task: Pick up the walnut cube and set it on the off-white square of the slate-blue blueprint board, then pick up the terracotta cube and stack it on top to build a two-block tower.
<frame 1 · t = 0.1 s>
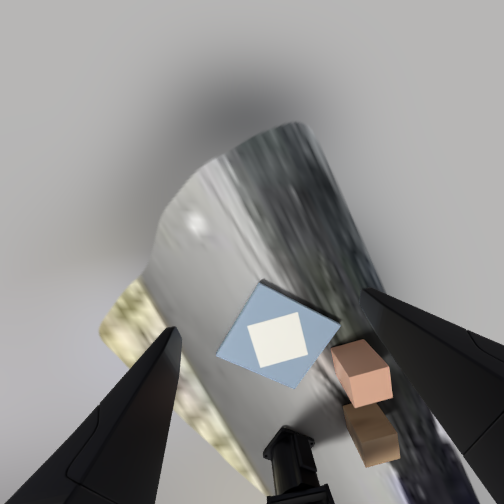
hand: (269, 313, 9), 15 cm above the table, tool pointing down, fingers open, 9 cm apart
walnut block: (359, 413, 32), on the table
terracotta block: (349, 357, 29), on the table
blueprint board: (277, 337, 27), on the table
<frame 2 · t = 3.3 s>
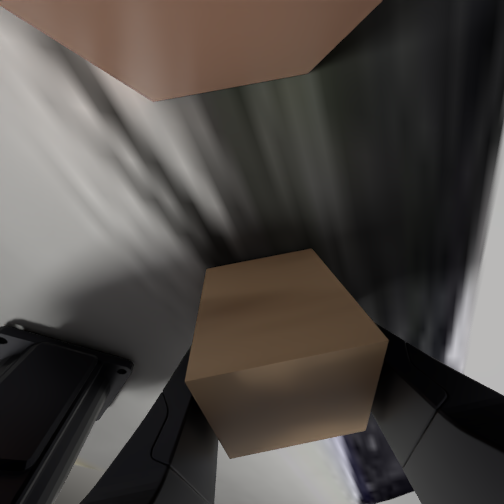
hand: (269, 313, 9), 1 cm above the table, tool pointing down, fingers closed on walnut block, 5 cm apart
walnut block: (266, 299, 10), on the table, touching gripper
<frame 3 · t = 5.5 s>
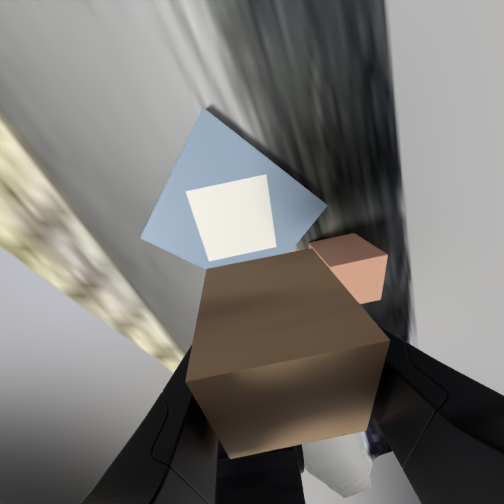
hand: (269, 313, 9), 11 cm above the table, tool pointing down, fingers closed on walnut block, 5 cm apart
walnut block: (266, 298, 10), point 10 cm above the table, touching gripper
terracotta block: (331, 257, 22), on the table
blueprint board: (235, 219, 19), on the table
when the fingers open (3 cm above the table, at t = 8.1 s): walnut block stays where it is, resting on blueprint board.
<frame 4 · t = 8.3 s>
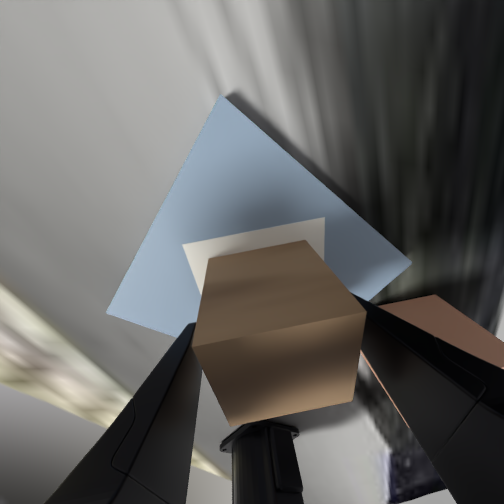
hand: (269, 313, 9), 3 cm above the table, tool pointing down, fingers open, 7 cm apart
walnut block: (263, 287, 11), point 1 cm above the table, touching blueprint board
terracotta block: (394, 325, 15), on the table
blueprint board: (261, 280, 12), on the table
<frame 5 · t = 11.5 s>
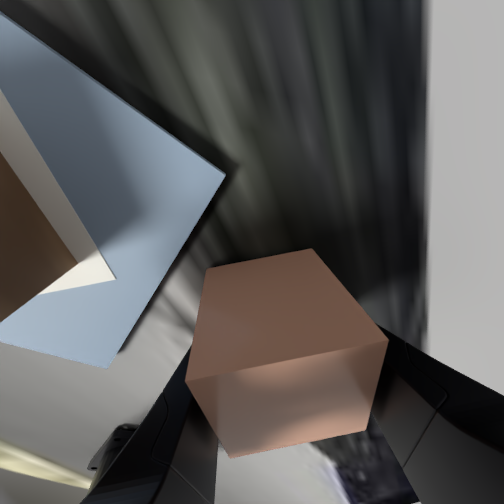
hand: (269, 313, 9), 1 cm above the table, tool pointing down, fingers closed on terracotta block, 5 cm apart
terracotta block: (266, 298, 10), on the table, touching gripper
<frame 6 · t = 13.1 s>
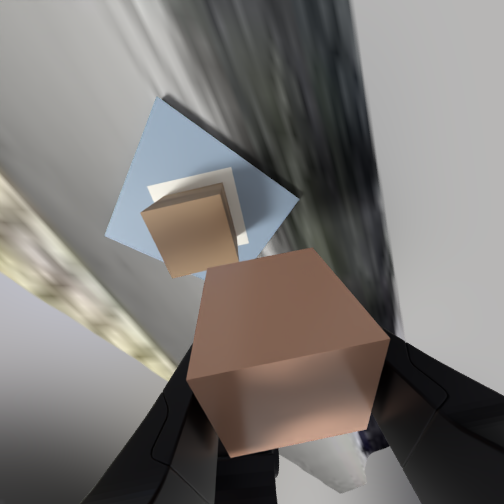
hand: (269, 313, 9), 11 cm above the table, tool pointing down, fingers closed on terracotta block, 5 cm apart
walnut block: (202, 217, 17), point 1 cm above the table, touching blueprint board
terracotta block: (266, 298, 10), point 10 cm above the table, touching gripper
blueprint board: (203, 215, 18), on the table
when the fingers open (8 cm above the table, at t = 14.5 s): terracotta block drops 1 cm, resting on walnut block.
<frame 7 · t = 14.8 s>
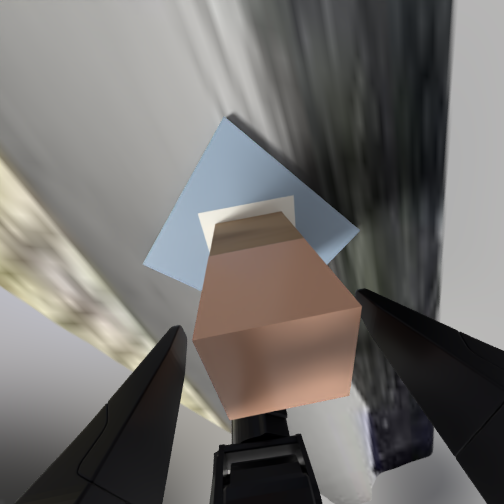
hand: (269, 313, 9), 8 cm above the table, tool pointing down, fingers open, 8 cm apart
walnut block: (253, 247, 16), point 1 cm above the table, touching blueprint board, terracotta block
terracotta block: (262, 285, 11), point 6 cm above the table, touching walnut block
blueprint board: (252, 243, 16), on the table
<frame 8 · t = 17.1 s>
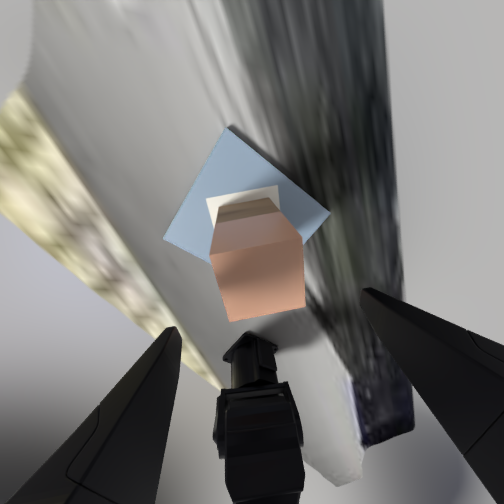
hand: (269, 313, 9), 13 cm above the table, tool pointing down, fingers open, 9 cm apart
walnut block: (248, 225, 20), point 1 cm above the table, touching blueprint board, terracotta block
terracotta block: (253, 246, 16), point 6 cm above the table, touching walnut block
blueprint board: (247, 223, 21), on the table
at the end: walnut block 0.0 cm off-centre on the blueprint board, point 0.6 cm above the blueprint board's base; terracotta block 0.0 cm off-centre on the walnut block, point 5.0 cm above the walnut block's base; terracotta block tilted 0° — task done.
